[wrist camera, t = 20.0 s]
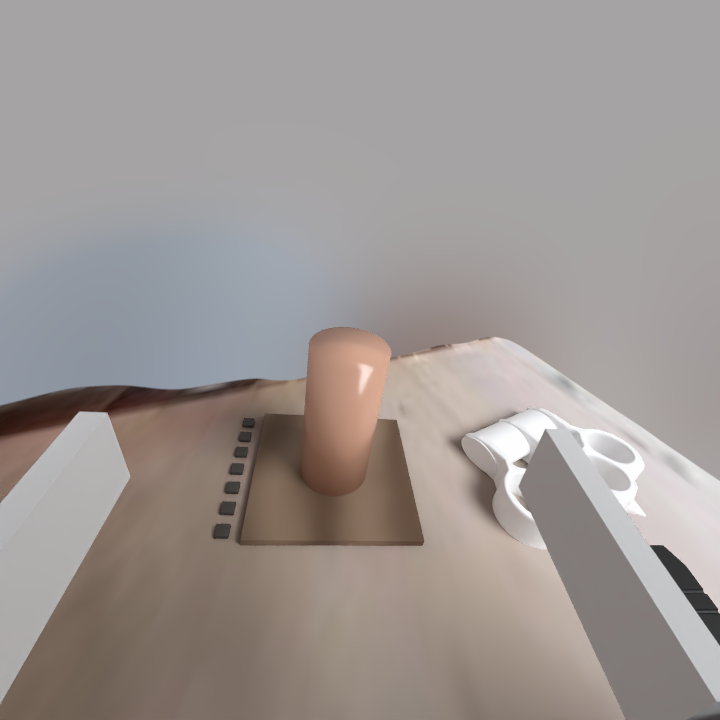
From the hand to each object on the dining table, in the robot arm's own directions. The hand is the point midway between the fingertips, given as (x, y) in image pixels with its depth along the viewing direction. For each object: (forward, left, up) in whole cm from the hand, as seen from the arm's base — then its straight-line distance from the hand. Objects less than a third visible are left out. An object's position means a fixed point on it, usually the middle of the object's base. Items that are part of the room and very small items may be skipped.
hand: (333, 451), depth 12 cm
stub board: (-1, -15, -19) cm, 24 cm away
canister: (-2, -15, -18) cm, 24 cm away
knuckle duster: (-24, -16, -20) cm, 35 cm away
